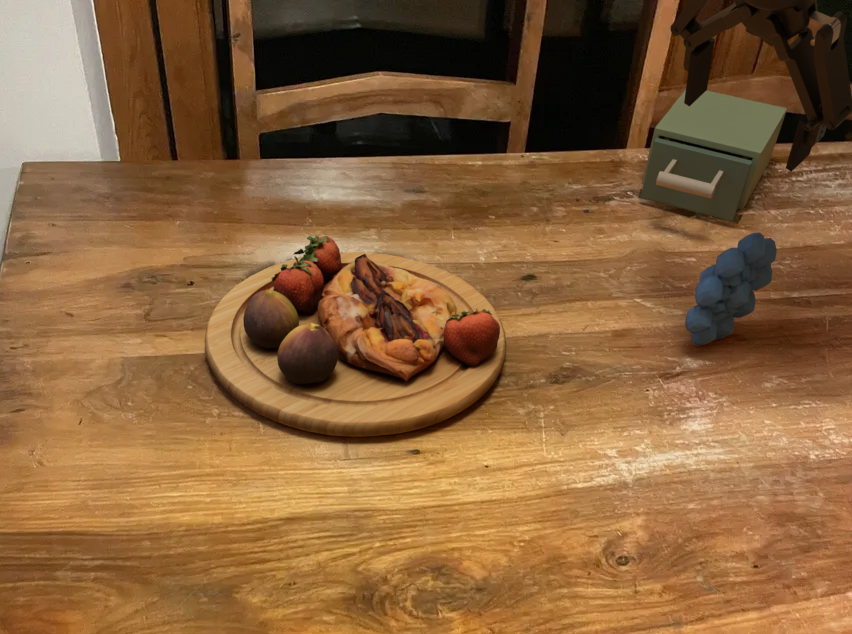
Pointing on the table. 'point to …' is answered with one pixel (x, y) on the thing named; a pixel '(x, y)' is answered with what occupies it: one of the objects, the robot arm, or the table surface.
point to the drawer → (696, 177)
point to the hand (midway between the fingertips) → (745, 128)
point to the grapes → (730, 288)
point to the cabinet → (725, 131)
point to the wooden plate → (355, 342)
